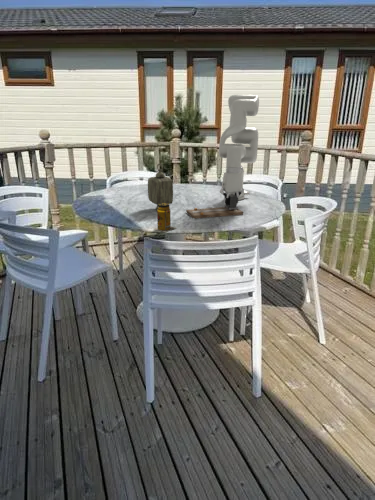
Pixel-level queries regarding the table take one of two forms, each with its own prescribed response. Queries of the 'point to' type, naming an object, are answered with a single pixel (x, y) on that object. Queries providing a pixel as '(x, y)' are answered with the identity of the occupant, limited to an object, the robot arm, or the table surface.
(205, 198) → the table surface
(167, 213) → the condiment
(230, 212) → the fader board
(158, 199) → the tabletop clock
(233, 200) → the fader slider
